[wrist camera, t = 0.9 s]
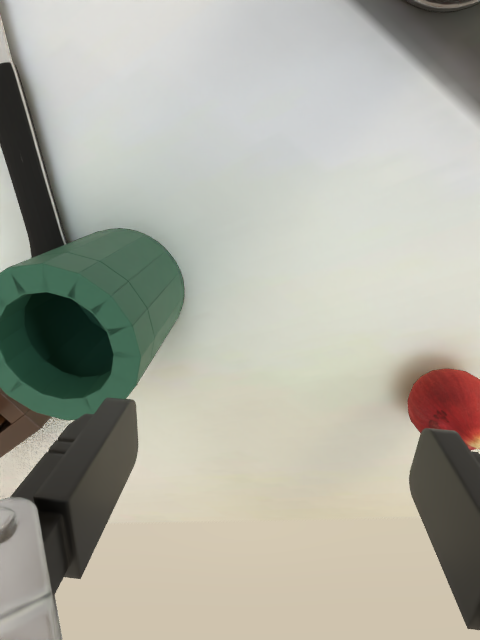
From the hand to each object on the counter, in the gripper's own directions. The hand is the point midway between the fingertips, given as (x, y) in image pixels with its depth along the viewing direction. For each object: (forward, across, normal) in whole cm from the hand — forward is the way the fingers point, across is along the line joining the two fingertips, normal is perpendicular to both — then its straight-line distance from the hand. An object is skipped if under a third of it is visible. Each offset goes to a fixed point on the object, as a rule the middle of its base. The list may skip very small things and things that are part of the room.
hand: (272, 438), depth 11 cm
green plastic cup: (+20, +12, +2) cm, 23 cm away
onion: (+20, -14, +9) cm, 26 cm away
